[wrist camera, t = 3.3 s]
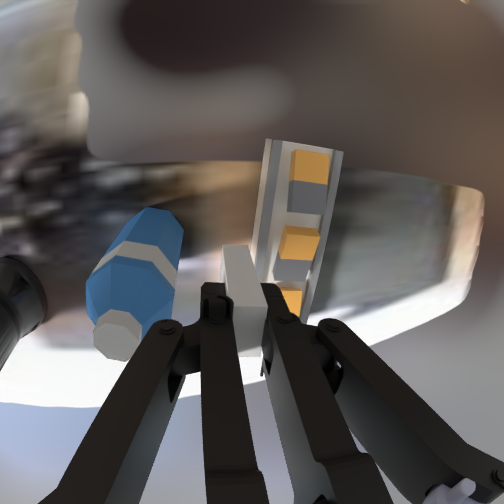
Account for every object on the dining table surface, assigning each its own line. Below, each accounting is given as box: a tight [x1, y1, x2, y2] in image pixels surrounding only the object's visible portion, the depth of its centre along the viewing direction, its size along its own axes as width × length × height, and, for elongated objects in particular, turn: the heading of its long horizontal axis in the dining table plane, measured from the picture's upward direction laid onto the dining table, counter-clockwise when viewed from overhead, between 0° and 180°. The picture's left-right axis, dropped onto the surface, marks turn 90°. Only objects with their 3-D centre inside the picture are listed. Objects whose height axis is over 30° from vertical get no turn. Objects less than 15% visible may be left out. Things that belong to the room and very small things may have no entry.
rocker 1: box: [287, 149, 329, 215], centre depth 38 cm, size 5×8×2 cm, turn 173°
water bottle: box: [86, 207, 184, 362], centre depth 33 cm, size 9×9×25 cm
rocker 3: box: [279, 287, 302, 317], centre depth 46 cm, size 5×8×2 cm, turn 173°
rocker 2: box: [272, 226, 320, 282], centre depth 42 cm, size 5×8×2 cm, turn 173°
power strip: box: [250, 138, 344, 324], centre depth 45 cm, size 10×30×5 cm, turn 173°
